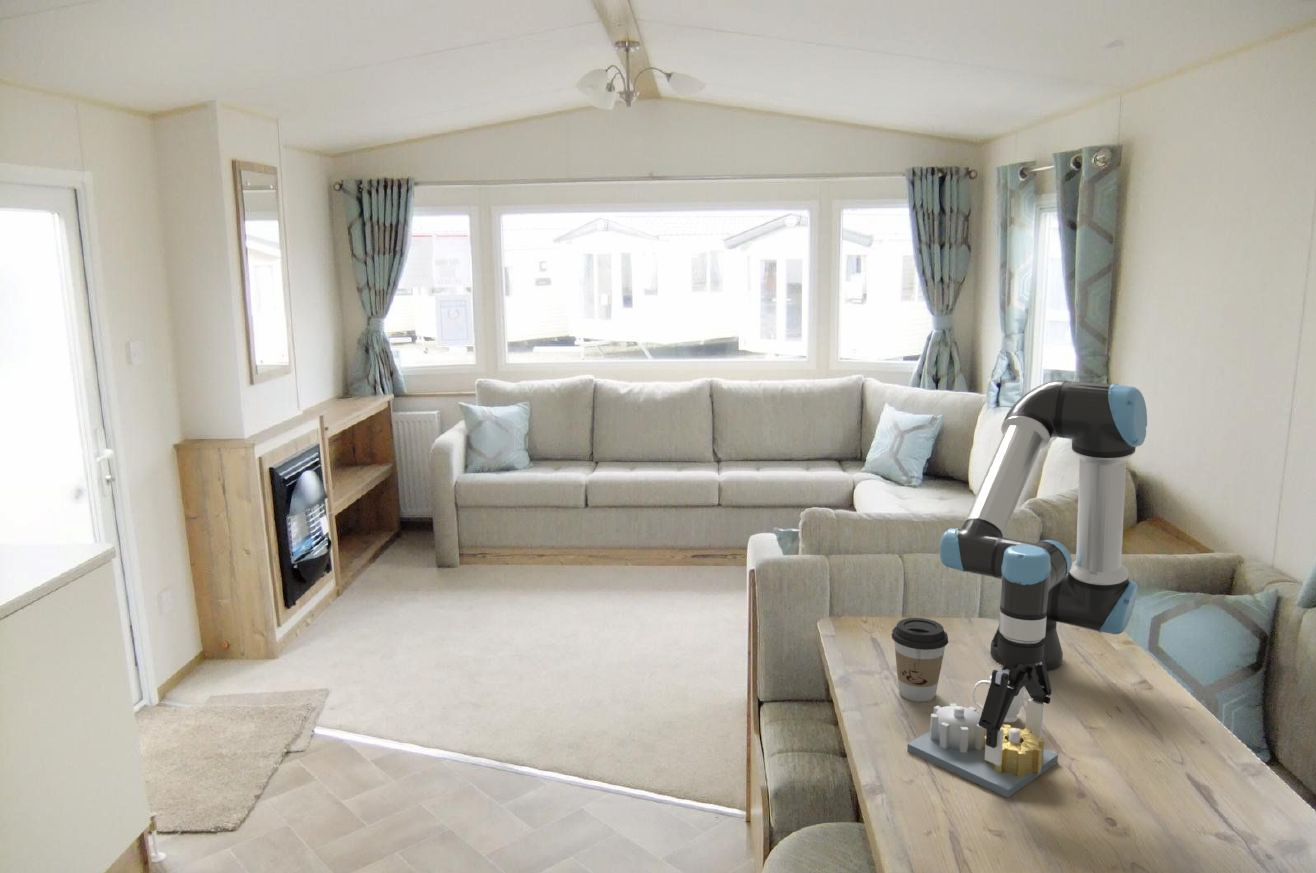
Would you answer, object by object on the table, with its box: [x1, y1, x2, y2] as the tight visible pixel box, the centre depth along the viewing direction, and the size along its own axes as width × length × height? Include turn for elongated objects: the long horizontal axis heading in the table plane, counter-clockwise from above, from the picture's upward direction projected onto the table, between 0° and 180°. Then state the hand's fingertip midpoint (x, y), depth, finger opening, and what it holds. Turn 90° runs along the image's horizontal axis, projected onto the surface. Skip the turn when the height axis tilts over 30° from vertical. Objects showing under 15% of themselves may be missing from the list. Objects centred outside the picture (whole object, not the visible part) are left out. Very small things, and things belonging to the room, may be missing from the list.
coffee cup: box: [890, 617, 949, 703], centre depth 193 cm, size 11×11×15 cm
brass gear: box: [983, 724, 1045, 778], centre depth 165 cm, size 10×10×4 cm
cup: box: [971, 674, 1027, 723], centre depth 184 cm, size 7×10×8 cm
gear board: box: [907, 703, 1059, 799], centre depth 169 cm, size 17×20×8 cm
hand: (1013, 748), depth 165 cm, fingers open, 13 cm apart
